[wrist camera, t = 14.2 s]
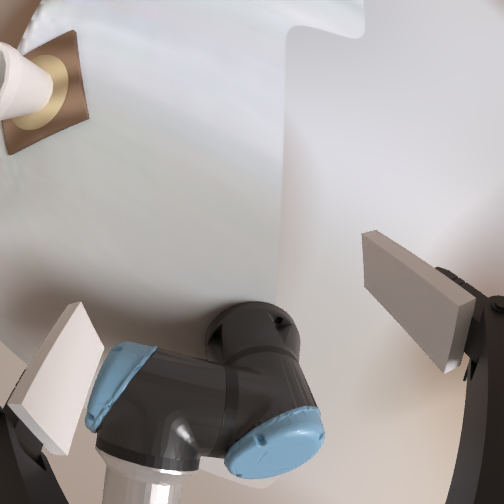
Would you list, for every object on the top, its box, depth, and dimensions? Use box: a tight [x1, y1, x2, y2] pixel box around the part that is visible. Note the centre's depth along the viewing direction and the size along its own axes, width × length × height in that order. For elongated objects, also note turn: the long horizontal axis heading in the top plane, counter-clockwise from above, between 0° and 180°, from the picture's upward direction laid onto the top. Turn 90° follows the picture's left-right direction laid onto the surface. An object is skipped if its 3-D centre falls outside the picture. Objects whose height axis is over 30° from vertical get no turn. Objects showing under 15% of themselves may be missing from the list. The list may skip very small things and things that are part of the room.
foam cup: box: [0, 42, 53, 121], centre depth 23 cm, size 10×9×13 cm
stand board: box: [2, 30, 89, 155], centre depth 30 cm, size 14×14×2 cm
